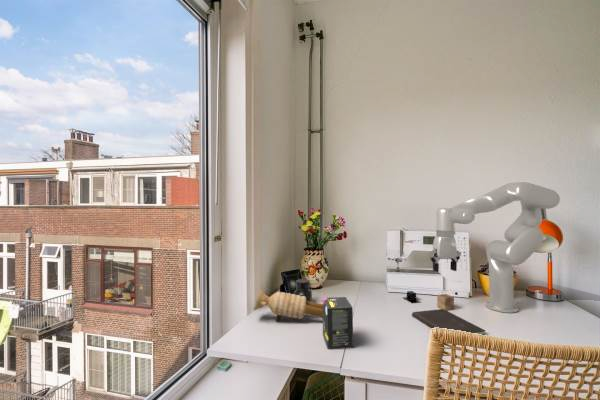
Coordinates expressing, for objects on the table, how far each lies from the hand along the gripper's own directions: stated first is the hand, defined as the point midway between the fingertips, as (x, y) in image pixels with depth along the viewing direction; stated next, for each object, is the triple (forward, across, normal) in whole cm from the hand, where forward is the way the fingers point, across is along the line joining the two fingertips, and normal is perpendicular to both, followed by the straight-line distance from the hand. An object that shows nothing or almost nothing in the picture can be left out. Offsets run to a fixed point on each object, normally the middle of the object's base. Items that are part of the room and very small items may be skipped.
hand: (444, 270), depth 138 cm
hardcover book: (+19, +12, +15) cm, 27 cm away
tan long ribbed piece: (+20, +72, -6) cm, 75 cm away
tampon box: (+20, +60, +17) cm, 65 cm away
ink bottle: (+20, +62, -23) cm, 69 cm away
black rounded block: (+19, +7, -15) cm, 25 cm away
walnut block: (+18, -1, 0) cm, 18 cm away
